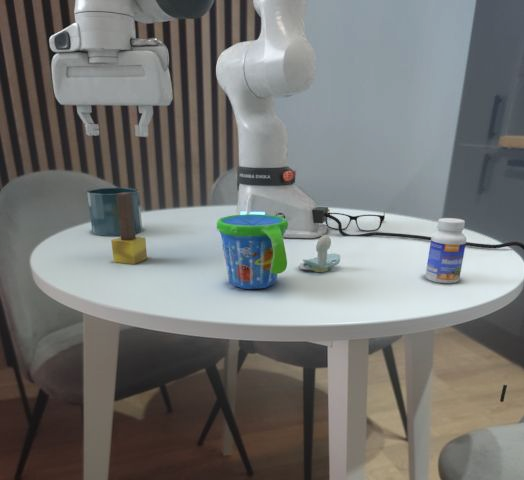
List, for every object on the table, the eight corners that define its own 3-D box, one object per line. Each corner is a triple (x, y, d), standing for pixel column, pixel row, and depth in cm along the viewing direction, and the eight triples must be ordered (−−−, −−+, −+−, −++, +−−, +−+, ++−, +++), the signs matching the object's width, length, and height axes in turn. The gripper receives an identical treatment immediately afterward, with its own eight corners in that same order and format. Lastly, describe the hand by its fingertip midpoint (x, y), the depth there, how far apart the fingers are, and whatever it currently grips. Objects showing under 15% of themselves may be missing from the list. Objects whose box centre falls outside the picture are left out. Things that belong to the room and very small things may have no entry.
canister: (151, 228, 119) (147, 189, 115) (125, 237, 109) (120, 195, 106) (110, 224, 122) (106, 186, 118) (82, 233, 112) (76, 192, 109)
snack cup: (204, 274, 84) (202, 213, 80) (260, 268, 88) (261, 209, 84) (242, 303, 71) (241, 231, 67) (305, 293, 75) (308, 225, 71)
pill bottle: (440, 285, 80) (450, 224, 75) (418, 276, 84) (426, 218, 80) (466, 281, 82) (477, 221, 77) (443, 273, 86) (452, 216, 82)
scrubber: (147, 258, 93) (141, 192, 88) (134, 264, 89) (127, 195, 84) (126, 256, 95) (119, 191, 89) (113, 262, 91) (105, 194, 86)
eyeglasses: (322, 229, 119) (323, 212, 117) (328, 219, 132) (329, 203, 130) (382, 233, 116) (384, 215, 114) (383, 221, 129) (385, 206, 127)
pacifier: (290, 269, 88) (315, 276, 83) (291, 234, 85) (316, 238, 81) (319, 263, 92) (344, 268, 88) (320, 228, 90) (346, 233, 85)
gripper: (176, 40, 77) (181, 137, 83) (66, 44, 83) (78, 134, 89) (156, 34, 72) (163, 138, 77) (39, 38, 77) (54, 135, 83)
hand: (117, 136), depth 83 cm, fingers open, 8 cm apart
